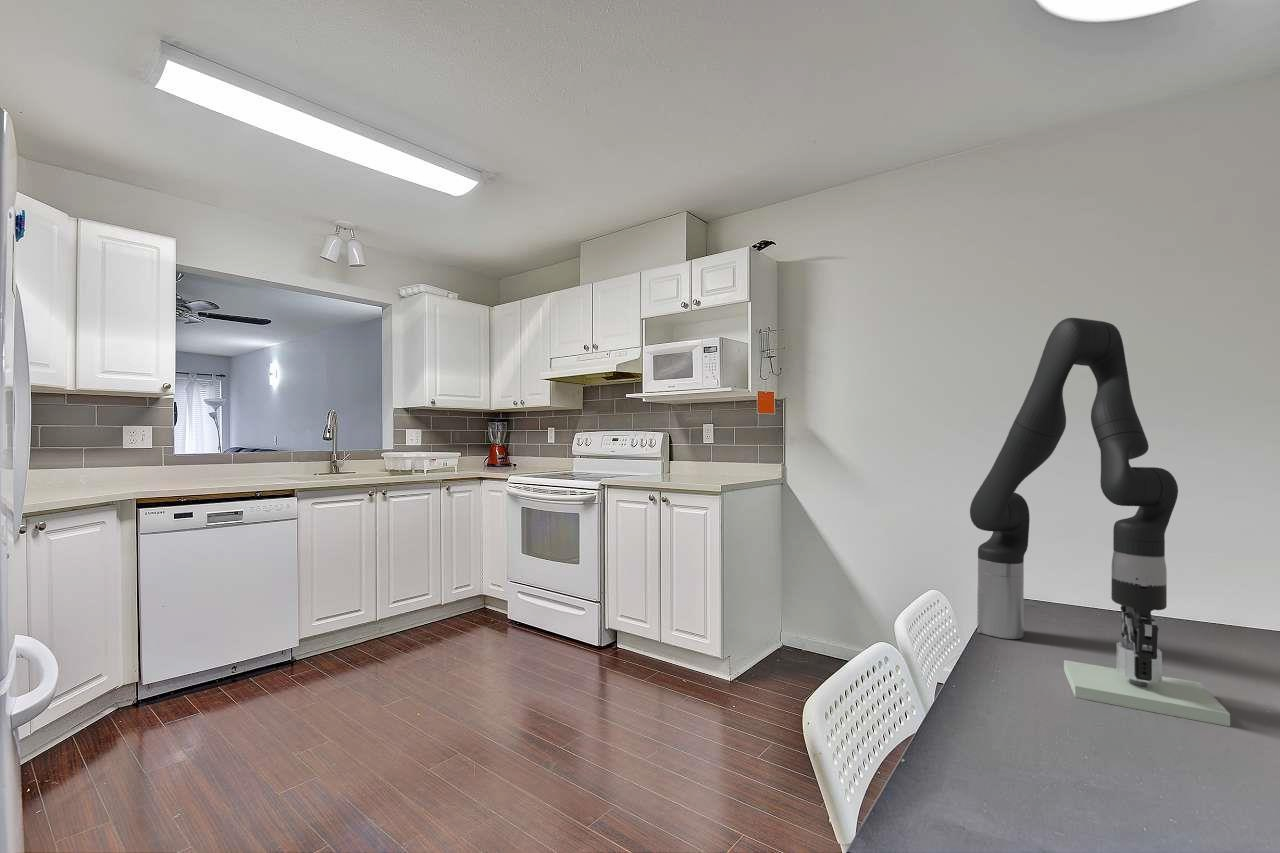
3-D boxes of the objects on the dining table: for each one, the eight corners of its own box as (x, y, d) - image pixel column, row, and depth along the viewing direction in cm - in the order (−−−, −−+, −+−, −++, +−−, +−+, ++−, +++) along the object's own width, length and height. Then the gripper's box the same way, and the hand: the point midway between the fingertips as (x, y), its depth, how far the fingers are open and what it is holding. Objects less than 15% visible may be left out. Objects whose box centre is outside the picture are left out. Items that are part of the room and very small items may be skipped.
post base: (1075, 697, 103) (1075, 657, 103) (1064, 670, 115) (1064, 634, 115) (1230, 726, 93) (1230, 682, 93) (1199, 693, 105) (1199, 654, 106)
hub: (1121, 678, 103) (1121, 649, 103) (1113, 666, 108) (1113, 639, 108) (1165, 685, 100) (1165, 656, 100) (1155, 673, 105) (1155, 645, 106)
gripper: (1103, 568, 113) (1103, 655, 112) (1120, 584, 100) (1120, 682, 100) (1154, 573, 109) (1154, 663, 109) (1178, 590, 96) (1178, 692, 96)
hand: (1138, 672), depth 104 cm, fingers closed on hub, 6 cm apart
